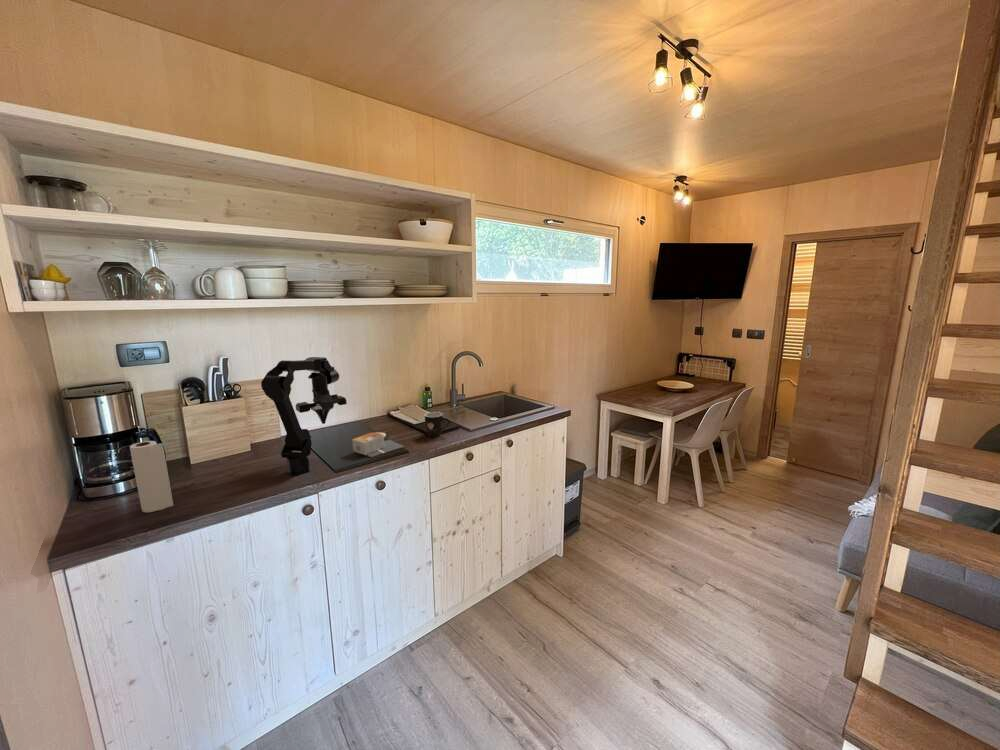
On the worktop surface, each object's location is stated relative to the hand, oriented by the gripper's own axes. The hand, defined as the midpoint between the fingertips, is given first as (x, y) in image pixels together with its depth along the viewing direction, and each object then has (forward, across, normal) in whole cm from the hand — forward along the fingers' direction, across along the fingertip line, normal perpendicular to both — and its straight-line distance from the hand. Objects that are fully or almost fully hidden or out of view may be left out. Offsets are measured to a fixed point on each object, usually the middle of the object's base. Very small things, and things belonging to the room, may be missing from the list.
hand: (323, 423), depth 167 cm
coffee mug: (+13, +46, -14) cm, 50 cm away
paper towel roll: (+13, -56, -10) cm, 58 cm away
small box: (+10, +9, -12) cm, 18 cm away
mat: (+13, +19, -12) cm, 26 cm away
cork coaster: (+13, +25, +4) cm, 28 cm away
